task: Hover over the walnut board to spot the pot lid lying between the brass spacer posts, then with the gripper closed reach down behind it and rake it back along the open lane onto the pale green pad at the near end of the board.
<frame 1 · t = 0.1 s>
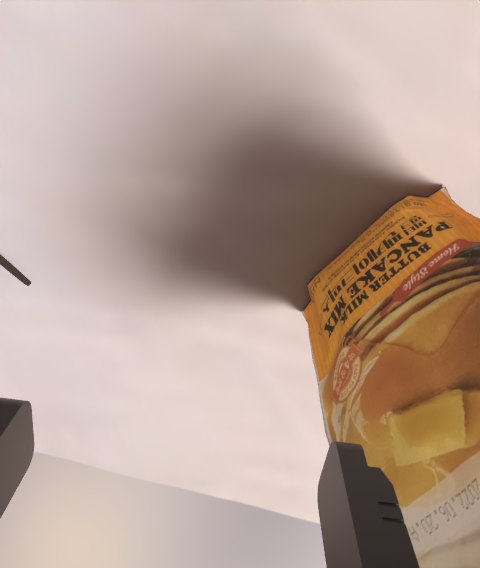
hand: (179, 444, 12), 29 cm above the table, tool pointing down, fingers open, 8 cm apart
pancake mix bag: (375, 259, 41), on the table
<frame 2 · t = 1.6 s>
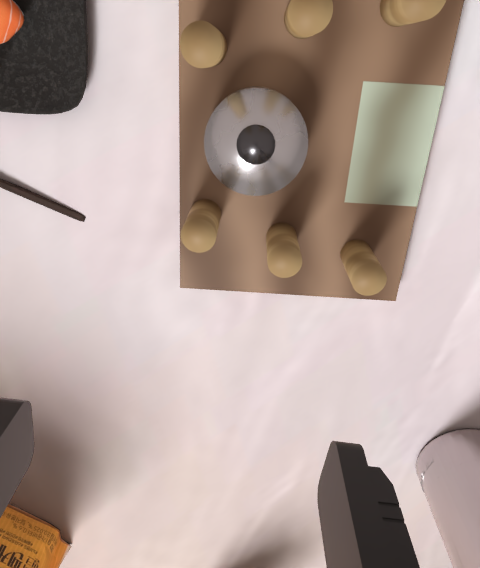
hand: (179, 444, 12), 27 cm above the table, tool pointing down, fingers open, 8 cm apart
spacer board: (302, 143, 34), on the table
pancake mix bag: (7, 518, 55), on the table
pot lid: (255, 139, 33), point 1 cm above the table, touching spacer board
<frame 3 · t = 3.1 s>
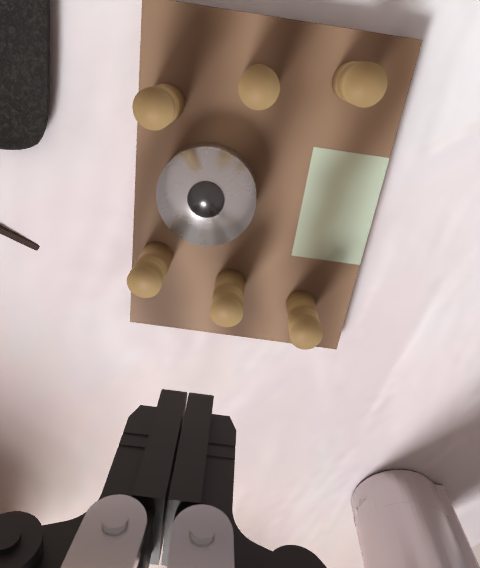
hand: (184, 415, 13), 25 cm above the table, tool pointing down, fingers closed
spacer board: (255, 195, 36), on the table
pot lid: (209, 190, 34), point 1 cm above the table, touching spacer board
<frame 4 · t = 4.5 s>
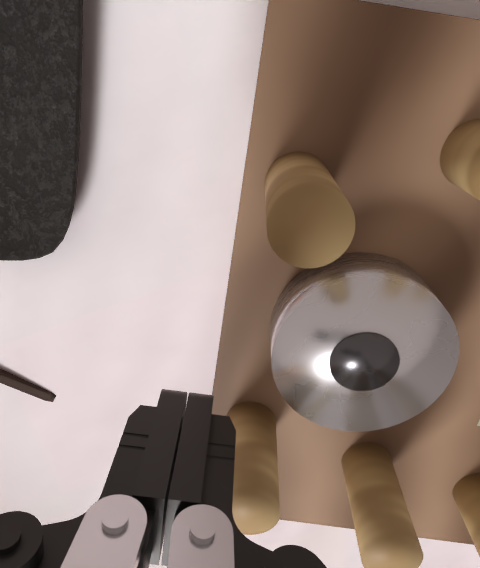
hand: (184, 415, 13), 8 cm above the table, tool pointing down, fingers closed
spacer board: (419, 327, 21), on the table
pot lid: (352, 328, 20), point 1 cm above the table, touching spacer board
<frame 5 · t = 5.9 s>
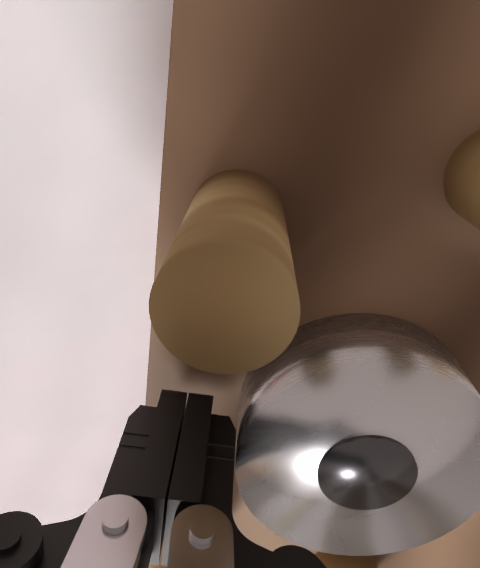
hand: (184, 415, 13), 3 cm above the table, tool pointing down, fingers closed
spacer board: (413, 397, 16), on the table
pot lid: (350, 410, 14), point 2 cm above the table, touching gripper, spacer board
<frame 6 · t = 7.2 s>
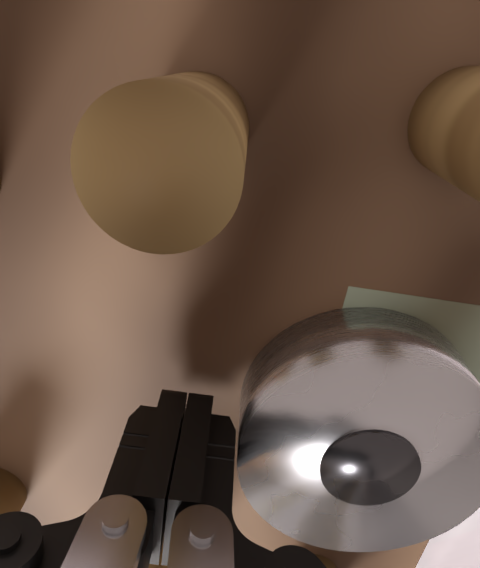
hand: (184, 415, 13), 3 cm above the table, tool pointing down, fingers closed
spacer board: (207, 368, 16), on the table
pot lid: (352, 405, 14), point 2 cm above the table, touching gripper
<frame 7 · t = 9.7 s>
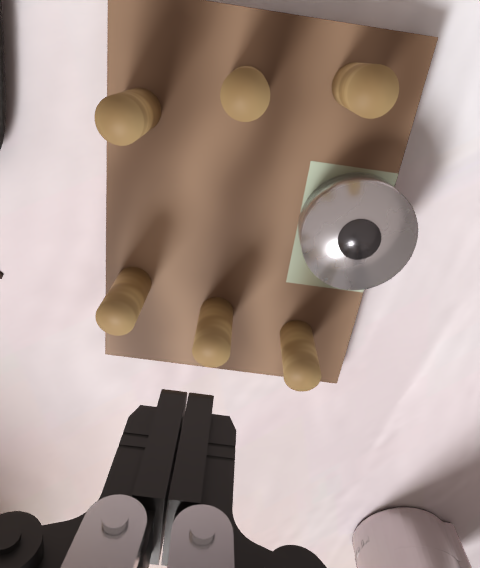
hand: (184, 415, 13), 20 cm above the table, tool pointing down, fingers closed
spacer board: (244, 214, 31), on the table
pot lid: (351, 225, 30), point 1 cm above the table, touching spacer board
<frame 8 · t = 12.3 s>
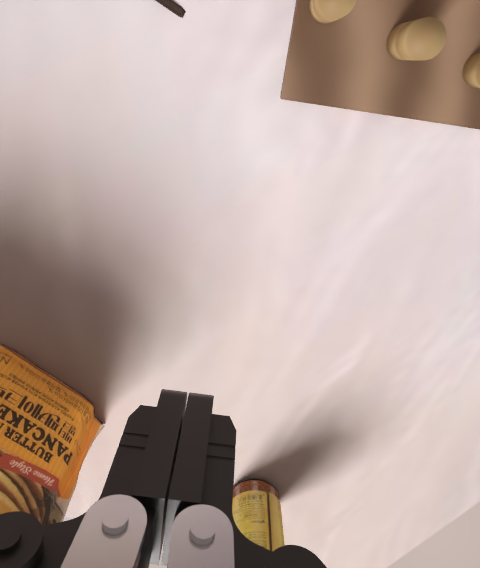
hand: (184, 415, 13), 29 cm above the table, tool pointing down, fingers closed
sauce bottle: (255, 493, 56), on the table
pancake mix bag: (37, 389, 50), on the table
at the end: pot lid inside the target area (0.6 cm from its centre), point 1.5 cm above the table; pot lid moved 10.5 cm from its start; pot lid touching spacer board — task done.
